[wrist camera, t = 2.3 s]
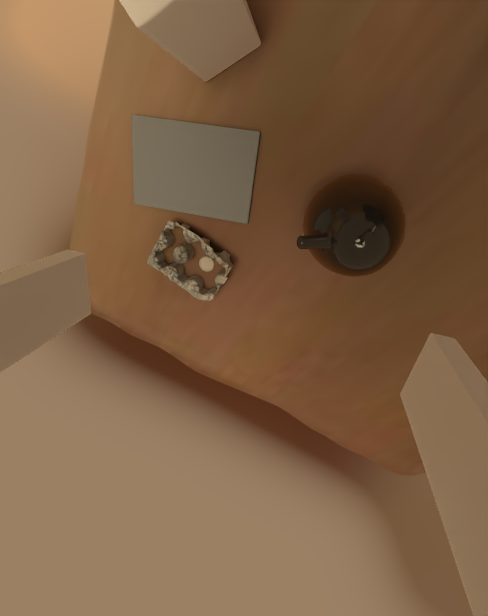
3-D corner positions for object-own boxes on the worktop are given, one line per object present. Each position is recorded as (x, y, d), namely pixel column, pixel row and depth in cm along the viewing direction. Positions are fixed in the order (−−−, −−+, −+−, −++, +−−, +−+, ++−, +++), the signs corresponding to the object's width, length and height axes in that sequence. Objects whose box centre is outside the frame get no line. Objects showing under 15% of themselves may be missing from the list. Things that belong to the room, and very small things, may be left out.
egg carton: (241, 259, 43) (234, 268, 39) (213, 298, 46) (205, 309, 42) (178, 213, 42) (165, 217, 38) (155, 255, 45) (141, 263, 42)
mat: (260, 132, 36) (259, 131, 35) (248, 223, 40) (247, 223, 40) (134, 115, 38) (131, 114, 37) (136, 203, 42) (133, 203, 42)
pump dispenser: (305, 175, 36) (298, 177, 23) (399, 172, 34) (453, 174, 21) (300, 258, 41) (293, 302, 27) (384, 261, 39) (421, 310, 25)
